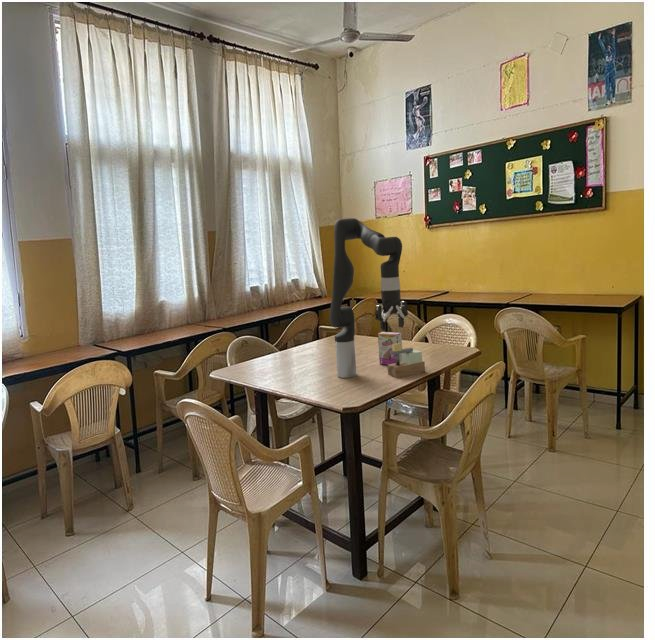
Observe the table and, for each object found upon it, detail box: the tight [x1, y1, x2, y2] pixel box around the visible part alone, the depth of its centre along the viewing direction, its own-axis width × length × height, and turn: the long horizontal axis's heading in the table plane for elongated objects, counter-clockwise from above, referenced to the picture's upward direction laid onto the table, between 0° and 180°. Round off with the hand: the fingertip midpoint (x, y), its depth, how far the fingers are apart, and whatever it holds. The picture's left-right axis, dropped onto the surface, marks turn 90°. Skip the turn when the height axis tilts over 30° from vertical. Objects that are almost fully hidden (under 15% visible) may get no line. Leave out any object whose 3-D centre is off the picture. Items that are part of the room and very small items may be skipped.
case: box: [387, 360, 426, 379], centre depth 239 cm, size 7×16×5 cm, turn 114°
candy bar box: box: [377, 331, 403, 366], centre depth 256 cm, size 11×5×16 cm, turn 56°
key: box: [390, 343, 414, 365], centre depth 237 cm, size 2×11×10 cm, turn 114°
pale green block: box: [402, 349, 423, 364], centre depth 239 cm, size 6×7×5 cm
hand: (392, 328), depth 202 cm, fingers open, 8 cm apart
